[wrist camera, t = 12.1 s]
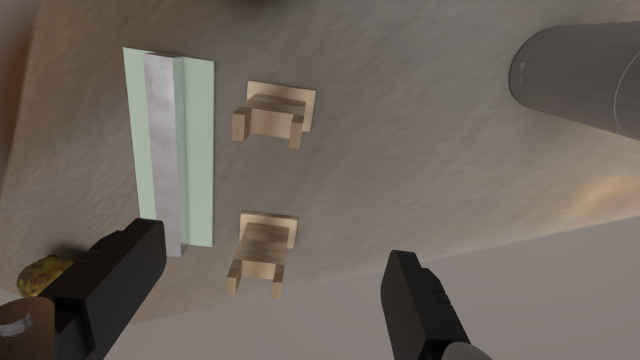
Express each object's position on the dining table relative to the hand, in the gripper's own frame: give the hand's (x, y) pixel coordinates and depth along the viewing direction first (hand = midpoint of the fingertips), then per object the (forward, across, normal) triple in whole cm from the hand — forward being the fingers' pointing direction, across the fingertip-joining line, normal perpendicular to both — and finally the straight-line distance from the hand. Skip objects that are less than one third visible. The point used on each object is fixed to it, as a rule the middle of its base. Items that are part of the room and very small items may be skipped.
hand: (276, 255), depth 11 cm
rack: (+29, +3, +10) cm, 31 cm away
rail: (+28, +16, +10) cm, 34 cm away
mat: (+29, +16, +10) cm, 35 cm away
